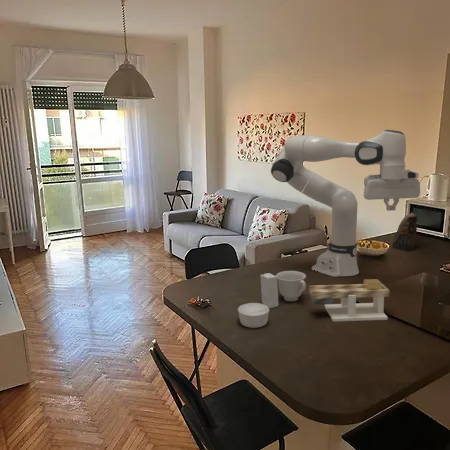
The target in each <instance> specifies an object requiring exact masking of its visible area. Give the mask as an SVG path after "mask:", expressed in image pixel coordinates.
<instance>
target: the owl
mask: <svg viewBox="0 0 450 450" xmlns="http://www.w3.org/2000/svg"><path fill="white" fill-rule="evenodd" d="M417 222H418V215H417V214H415V213H414V212H410V213H408V214H407V215H406V216H404V217H403V218H402V220H401V221H400V223H399V225H398V227H397V231H396V232H395V233H394V234H395V235H394V238H393V242H392V243H391V248H393V249H396V250H400V251H404V252H413V251H415V245H416V239H417V238H418V236H417V235H418V234H417V232H418V231H417V230H418V225H417Z"/></svg>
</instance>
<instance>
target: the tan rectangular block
mask: <svg viewBox="0 0 450 450" xmlns="http://www.w3.org/2000/svg"><path fill="white" fill-rule="evenodd" d="M363 284H364V288H363V289H364V290H379V289H381V288H382V284H383V283H382V282H381V281H380V280H379V279H378V278H376V279H375V278H373V279H371V278H367V279H363Z"/></svg>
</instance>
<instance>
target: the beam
mask: <svg viewBox="0 0 450 450" xmlns="http://www.w3.org/2000/svg"><path fill="white" fill-rule="evenodd" d="M363 288H364V283H357V284H353V283H352V284H328V285H327V284H325V285H323V284H319V285H314V284H313V285H308V293H309V295H310V300H311V302H312V304H313V305H327V304H334V299H341V298H348V295H356V299H358V298H359V299H360V298H373V297H384V298H388V297H390V289H389V288H388V287H386V285H385V284H384V283H382V288H381V289H379V290H364V289H363Z"/></svg>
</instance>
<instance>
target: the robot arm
mask: <svg viewBox="0 0 450 450" xmlns="http://www.w3.org/2000/svg"><path fill="white" fill-rule="evenodd" d="M406 155H407V140H406V136H405V133H404V132H402V131H400V130H394V129H393V130H392V129H385V130H382V131H381V133H379V134H378V135H376V136H374V137H371V138H369V139H366V140H363V141H361V142H350V141H349V142H348V141H341V140H336V139H332V138H329V137H324V136H320V135H312V134H307V135H306V134H304V135H303V134H302V135H301V134H300V135H295V136H290V137H288V138H287V139H286V141H285V143H284V146H283V147H282V149H281V150H280V152H279V153H278V155H277V157H276V159H275V161H274V163H273V164H272V165H271V168H270V173H271V176H272V178H274V179H275V180H276V181H278V182H280V183H287V184H288V185H289V186H290V187H292V188H293V189H295V190H296V191H298V192H299V193H302V194H303V195H304V196H306V197H308V198H310V199H312V200H313V201H315V202H317V203H320V204H324V205H325V206H328V207H329V208H331V242H329V243H328V244H327V245H326V248H328V249H327V250H326V251H325V252H323V253H321V254H320V255H318V257H317V259H316V264H314V265H312V267H311V270H312V271H314V270H315V272H317V271H318V273H320V274H324V275H327V276H330V277H332V278H333V277H337V278H338V277H353V276H357V275H359V273H360V270H359V267H358V260H357V254H358V244H357V225H358V224H357V221H358V199H357V198H356V196H355V194H354V193H353V192H352V191H350V190H349V189H347V188H345V187H343V186H341V185H339V184H338V183H335V182H333V181H331V180H328V179H326V178H324V177H323V176H321V175H319V174H317V173H316V172H314V171H311V170H310V169H307V167H305V165H304V163H303V162H311V163H316V162H317V163H318V162H324V161H329V160H330V161H331V160H334V159H335V160H336V159H340V158H349V159H350V158H351V159H352V158H353V159H355V160H356V162H357V163H359V164H361V165H362V166H374V165H379V174H368V175H367V176H366V177H365V178H364V180H363V181H364V182H363V185H364V189H363V197H364V199H365V200H368V201H369V200H371V201H373V200H383V203H384V205H385V206H386V211H387V212H390V211H396V210H397V206H398V204H399V202H400V199H417V198H419V197H420V196H421V183H420V180H419V179H418V178H419V173H418V172H416V171H413V170H410V169H406V162H405V157H406ZM390 199H391V200H393V203H392V204H391V205H390V203H389V202H390Z"/></svg>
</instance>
